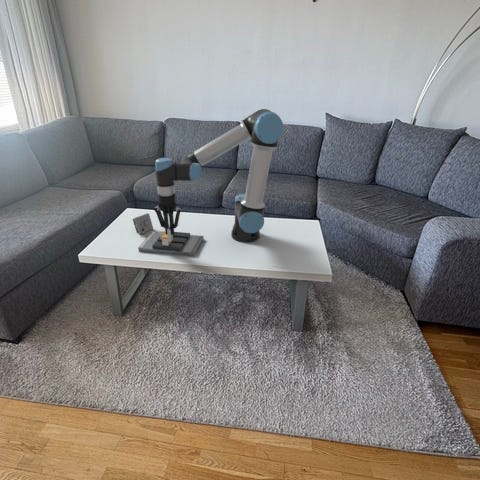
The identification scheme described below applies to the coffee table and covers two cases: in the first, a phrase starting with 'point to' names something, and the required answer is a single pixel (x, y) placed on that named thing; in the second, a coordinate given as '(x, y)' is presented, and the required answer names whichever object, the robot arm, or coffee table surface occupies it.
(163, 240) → the block
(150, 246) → the panel
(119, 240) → the coffee table surface
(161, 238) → the block
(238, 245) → the coffee table surface
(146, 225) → the electrical switch
